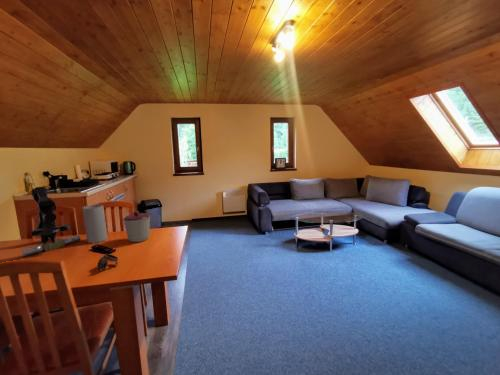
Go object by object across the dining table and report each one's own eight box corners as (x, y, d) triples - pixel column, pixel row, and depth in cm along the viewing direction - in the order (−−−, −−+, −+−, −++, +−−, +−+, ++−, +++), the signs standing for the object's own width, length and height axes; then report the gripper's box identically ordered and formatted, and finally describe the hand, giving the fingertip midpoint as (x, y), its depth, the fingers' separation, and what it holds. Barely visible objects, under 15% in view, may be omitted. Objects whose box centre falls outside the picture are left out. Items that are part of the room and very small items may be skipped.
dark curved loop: (98, 266, 141) (105, 252, 142) (115, 272, 142) (122, 257, 144) (90, 270, 129) (97, 255, 131) (108, 276, 131) (115, 261, 132)
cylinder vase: (111, 238, 184) (106, 205, 180) (93, 244, 174) (88, 209, 170) (102, 236, 191) (97, 204, 187) (84, 241, 180) (79, 207, 177)
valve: (22, 255, 160) (20, 245, 159) (77, 240, 185) (76, 231, 184) (25, 257, 156) (23, 247, 155) (81, 241, 181) (80, 233, 180)
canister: (146, 233, 192) (143, 206, 189) (157, 239, 180) (154, 210, 177) (121, 240, 180) (117, 211, 176) (131, 246, 167) (127, 215, 164)
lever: (49, 238, 170) (49, 236, 170) (56, 237, 172) (55, 235, 171) (45, 245, 158) (44, 243, 157) (52, 243, 159) (52, 241, 159)
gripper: (25, 225, 148) (30, 250, 151) (63, 219, 156) (68, 243, 158) (31, 220, 158) (37, 244, 161) (67, 215, 166) (72, 238, 168)
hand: (53, 242), depth 162 cm, fingers closed
